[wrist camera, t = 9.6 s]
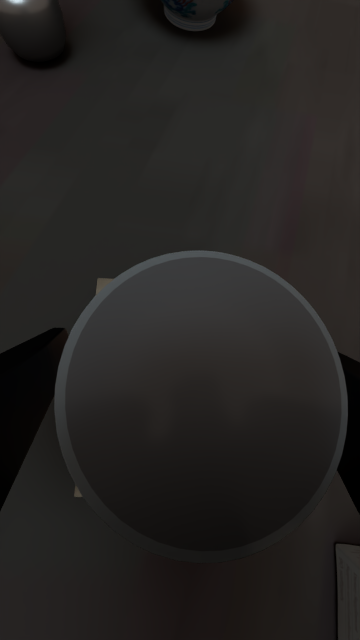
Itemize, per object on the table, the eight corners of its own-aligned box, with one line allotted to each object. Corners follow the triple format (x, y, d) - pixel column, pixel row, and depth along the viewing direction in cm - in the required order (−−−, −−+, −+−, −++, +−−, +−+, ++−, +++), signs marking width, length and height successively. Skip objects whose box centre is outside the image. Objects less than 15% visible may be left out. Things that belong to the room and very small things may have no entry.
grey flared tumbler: (218, 382, 17) (407, 401, 4) (165, 430, 15) (192, 670, 3) (175, 330, 17) (220, 204, 5) (122, 372, 16) (-13, 359, 3)
